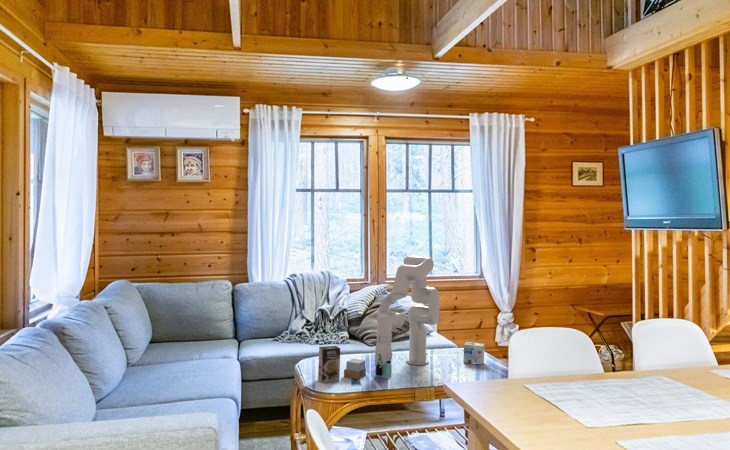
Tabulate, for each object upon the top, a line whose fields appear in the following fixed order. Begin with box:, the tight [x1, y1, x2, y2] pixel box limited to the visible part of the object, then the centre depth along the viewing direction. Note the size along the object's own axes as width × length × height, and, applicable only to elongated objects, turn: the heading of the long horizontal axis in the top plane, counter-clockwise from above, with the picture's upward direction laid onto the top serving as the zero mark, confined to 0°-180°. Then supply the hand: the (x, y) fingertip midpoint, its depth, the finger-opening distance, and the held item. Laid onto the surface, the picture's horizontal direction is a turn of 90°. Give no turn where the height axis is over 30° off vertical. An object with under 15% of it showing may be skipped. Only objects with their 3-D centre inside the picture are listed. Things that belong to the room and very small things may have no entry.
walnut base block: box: [343, 367, 367, 380], centre depth 245 cm, size 8×8×4 cm
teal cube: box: [374, 363, 393, 380], centre depth 246 cm, size 6×6×6 cm
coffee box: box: [317, 345, 341, 384], centre depth 237 cm, size 9×6×16 cm
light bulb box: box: [462, 341, 485, 365], centre depth 275 cm, size 11×7×11 cm, turn 68°
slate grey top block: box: [345, 358, 366, 372], centre depth 245 cm, size 7×7×4 cm
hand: (383, 373), depth 246 cm, fingers open, 9 cm apart
